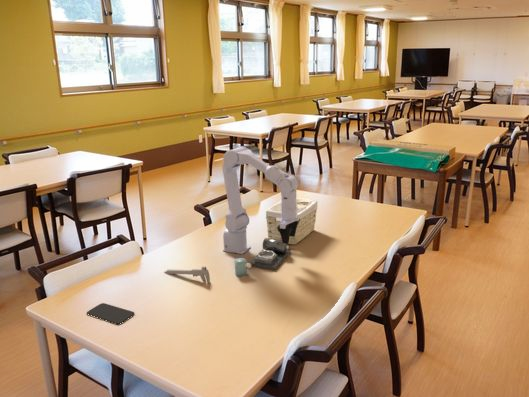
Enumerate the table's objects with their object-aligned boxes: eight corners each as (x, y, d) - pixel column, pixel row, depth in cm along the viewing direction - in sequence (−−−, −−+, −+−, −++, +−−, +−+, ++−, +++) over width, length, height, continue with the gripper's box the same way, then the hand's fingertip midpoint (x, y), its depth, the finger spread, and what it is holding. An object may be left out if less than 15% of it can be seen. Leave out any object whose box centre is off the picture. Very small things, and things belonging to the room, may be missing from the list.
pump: (233, 275, 169) (232, 261, 168) (238, 270, 173) (238, 257, 172) (248, 277, 167) (247, 264, 165) (253, 272, 171) (252, 259, 169)
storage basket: (288, 224, 221) (288, 195, 217) (318, 229, 213) (319, 200, 209) (264, 241, 201) (263, 209, 197) (297, 247, 193) (297, 215, 189)
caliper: (210, 282, 165) (209, 267, 163) (208, 283, 164) (207, 268, 162) (165, 272, 174) (164, 257, 172) (164, 273, 173) (162, 258, 171)
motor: (248, 265, 177) (248, 250, 175) (266, 248, 192) (266, 234, 191) (275, 270, 172) (275, 255, 170) (291, 252, 188) (291, 238, 186)
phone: (102, 302, 151) (136, 312, 144) (102, 304, 151) (136, 314, 145) (84, 313, 145) (119, 324, 138) (85, 315, 145) (119, 326, 138)
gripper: (292, 213, 165) (292, 248, 169) (304, 202, 177) (304, 234, 181) (274, 211, 167) (274, 245, 171) (287, 200, 180) (287, 232, 184)
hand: (288, 239), depth 177 cm, fingers open, 7 cm apart
